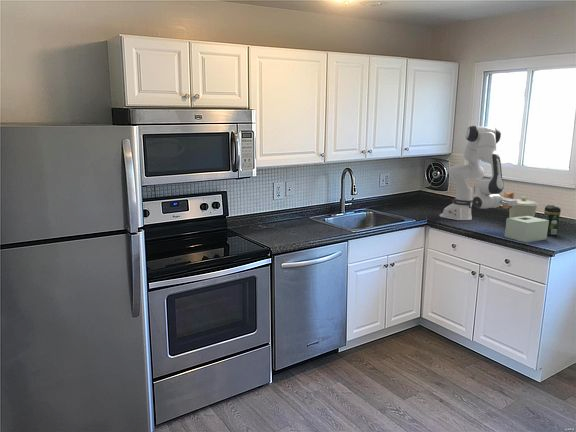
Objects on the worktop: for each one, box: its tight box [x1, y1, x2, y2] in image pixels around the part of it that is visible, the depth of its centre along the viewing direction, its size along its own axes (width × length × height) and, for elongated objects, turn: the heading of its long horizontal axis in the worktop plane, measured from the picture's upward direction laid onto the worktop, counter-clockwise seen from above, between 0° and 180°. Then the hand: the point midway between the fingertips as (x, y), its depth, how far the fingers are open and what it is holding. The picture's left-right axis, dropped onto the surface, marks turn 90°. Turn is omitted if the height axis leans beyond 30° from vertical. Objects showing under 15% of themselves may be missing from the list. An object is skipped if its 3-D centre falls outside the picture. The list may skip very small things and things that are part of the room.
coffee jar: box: [543, 204, 562, 236], centre depth 296 cm, size 10×8×19 cm
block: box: [501, 192, 515, 210], centre depth 303 cm, size 6×3×10 cm, turn 117°
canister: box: [508, 195, 539, 218], centre depth 315 cm, size 18×18×21 cm
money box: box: [503, 216, 549, 243], centre depth 284 cm, size 20×14×12 cm
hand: (509, 199), depth 303 cm, fingers closed on block, 3 cm apart
